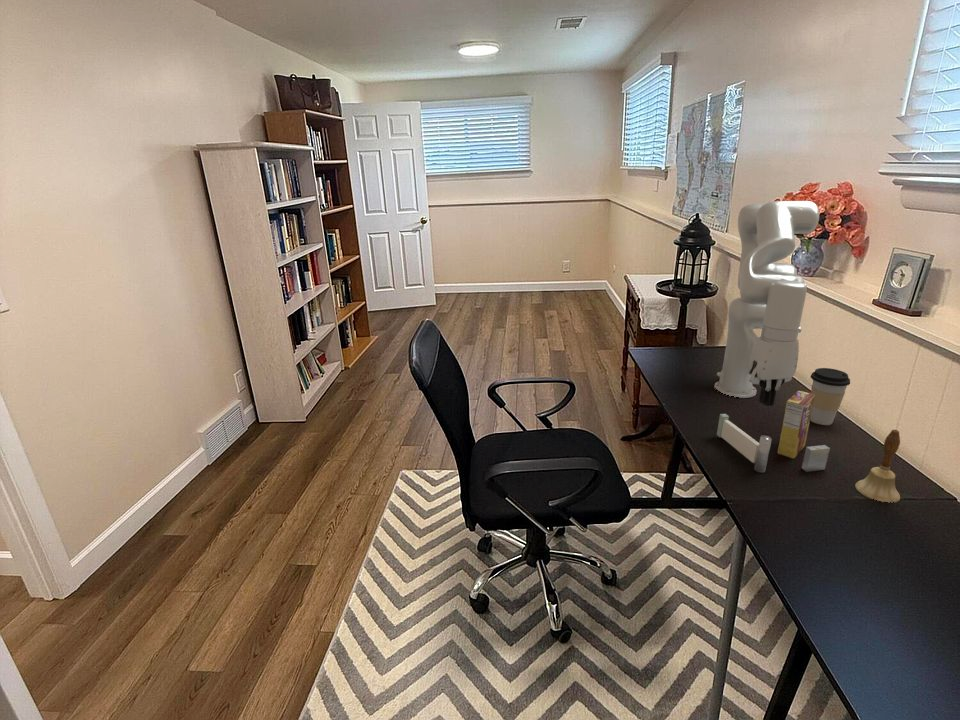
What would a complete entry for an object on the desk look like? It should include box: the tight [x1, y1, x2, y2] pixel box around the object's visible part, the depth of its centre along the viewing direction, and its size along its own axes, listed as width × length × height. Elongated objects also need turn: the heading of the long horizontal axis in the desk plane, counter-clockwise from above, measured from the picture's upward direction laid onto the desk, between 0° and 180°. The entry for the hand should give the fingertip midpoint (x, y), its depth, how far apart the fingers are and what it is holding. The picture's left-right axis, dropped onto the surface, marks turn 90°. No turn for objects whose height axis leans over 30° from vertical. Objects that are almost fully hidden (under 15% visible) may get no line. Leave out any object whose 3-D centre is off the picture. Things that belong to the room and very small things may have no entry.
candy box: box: [777, 390, 815, 459], centre depth 131 cm, size 9×4×15 cm, turn 133°
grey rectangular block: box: [801, 444, 831, 472], centre depth 124 cm, size 2×5×6 cm, turn 99°
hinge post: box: [753, 435, 773, 474], centre depth 124 cm, size 2×2×9 cm
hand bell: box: [854, 429, 901, 504], centre depth 113 cm, size 8×8×16 cm
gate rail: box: [716, 413, 759, 464], centre depth 132 cm, size 15×2×6 cm, turn 9°
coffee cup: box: [810, 367, 851, 426], centre depth 146 cm, size 9×9×15 cm
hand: (766, 403), depth 127 cm, fingers closed
